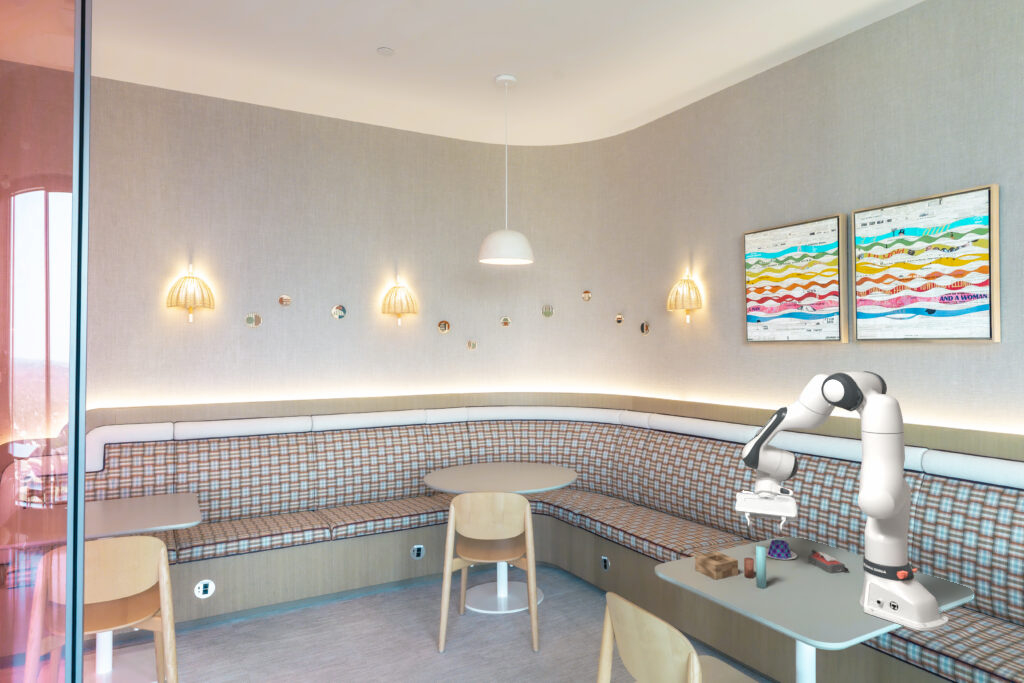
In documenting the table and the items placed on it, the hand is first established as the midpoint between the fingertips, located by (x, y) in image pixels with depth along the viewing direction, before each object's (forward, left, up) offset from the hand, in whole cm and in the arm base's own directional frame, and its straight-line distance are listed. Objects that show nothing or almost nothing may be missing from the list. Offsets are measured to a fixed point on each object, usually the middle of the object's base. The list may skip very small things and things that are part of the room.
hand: (764, 528), depth 209 cm
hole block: (+10, +13, -16) cm, 23 cm away
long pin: (-6, +9, -16) cm, 19 cm away
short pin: (+2, +6, -16) cm, 17 cm away
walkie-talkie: (-1, -27, -17) cm, 32 cm away
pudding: (+12, -20, -17) cm, 29 cm away
